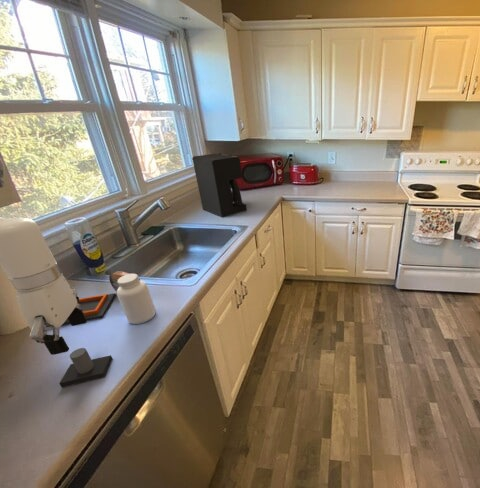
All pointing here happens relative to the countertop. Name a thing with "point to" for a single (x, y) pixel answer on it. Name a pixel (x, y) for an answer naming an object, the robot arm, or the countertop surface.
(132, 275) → the pill bottle
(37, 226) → the robot arm
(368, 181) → the countertop surface
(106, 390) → the countertop surface
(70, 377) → the stud pad
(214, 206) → the coffee maker
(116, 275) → the tin
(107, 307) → the base pad
